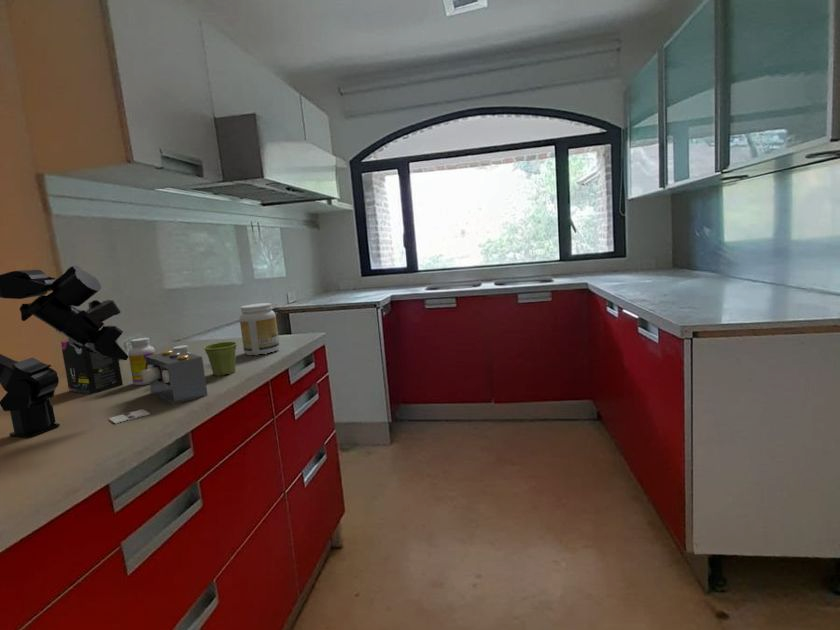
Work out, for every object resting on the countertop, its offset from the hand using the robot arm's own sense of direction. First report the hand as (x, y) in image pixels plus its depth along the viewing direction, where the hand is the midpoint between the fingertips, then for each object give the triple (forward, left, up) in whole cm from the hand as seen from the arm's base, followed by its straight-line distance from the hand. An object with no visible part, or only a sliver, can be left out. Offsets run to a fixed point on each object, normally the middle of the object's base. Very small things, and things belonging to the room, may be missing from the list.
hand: (126, 358), depth 114 cm
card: (-4, -3, -13) cm, 14 cm away
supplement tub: (+59, +5, -13) cm, 60 cm away
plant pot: (+32, 0, -13) cm, 34 cm away
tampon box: (+16, +31, -13) cm, 37 cm away
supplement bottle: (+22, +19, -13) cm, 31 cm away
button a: (+7, -5, -8) cm, 12 cm away
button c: (+12, +5, -8) cm, 15 cm away
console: (+12, -1, -13) cm, 18 cm away
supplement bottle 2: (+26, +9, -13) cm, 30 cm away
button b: (+7, +1, -8) cm, 11 cm away
